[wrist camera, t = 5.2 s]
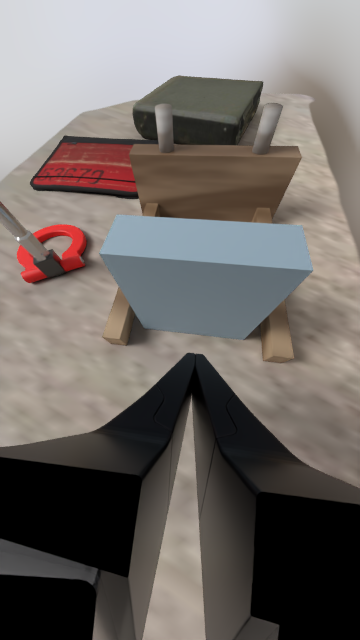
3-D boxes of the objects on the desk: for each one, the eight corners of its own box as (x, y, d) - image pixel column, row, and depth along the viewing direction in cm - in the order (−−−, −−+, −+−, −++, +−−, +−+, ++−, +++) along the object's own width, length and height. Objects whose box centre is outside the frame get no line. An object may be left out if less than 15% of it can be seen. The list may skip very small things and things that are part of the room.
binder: (63, 133, 33) (165, 138, 31) (71, 149, 36) (167, 154, 33) (20, 182, 28) (142, 192, 25) (32, 197, 30) (146, 208, 27)
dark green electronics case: (245, 159, 32) (255, 119, 27) (131, 148, 35) (123, 110, 30) (256, 111, 41) (265, 75, 36) (165, 106, 44) (163, 72, 40)
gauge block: (243, 340, 16) (313, 270, 7) (144, 328, 17) (99, 253, 8) (241, 257, 21) (283, 150, 12) (163, 251, 22) (147, 147, 13)
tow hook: (25, 242, 24) (23, 289, 20) (-125, 90, 12) (-201, 129, 8) (84, 225, 25) (93, 266, 21) (-4, 74, 14) (-19, 99, 10)
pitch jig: (291, 364, 15) (447, 315, 6) (102, 342, 17) (2, 277, 8) (268, 212, 24) (317, 101, 15) (146, 206, 26) (125, 102, 17)
